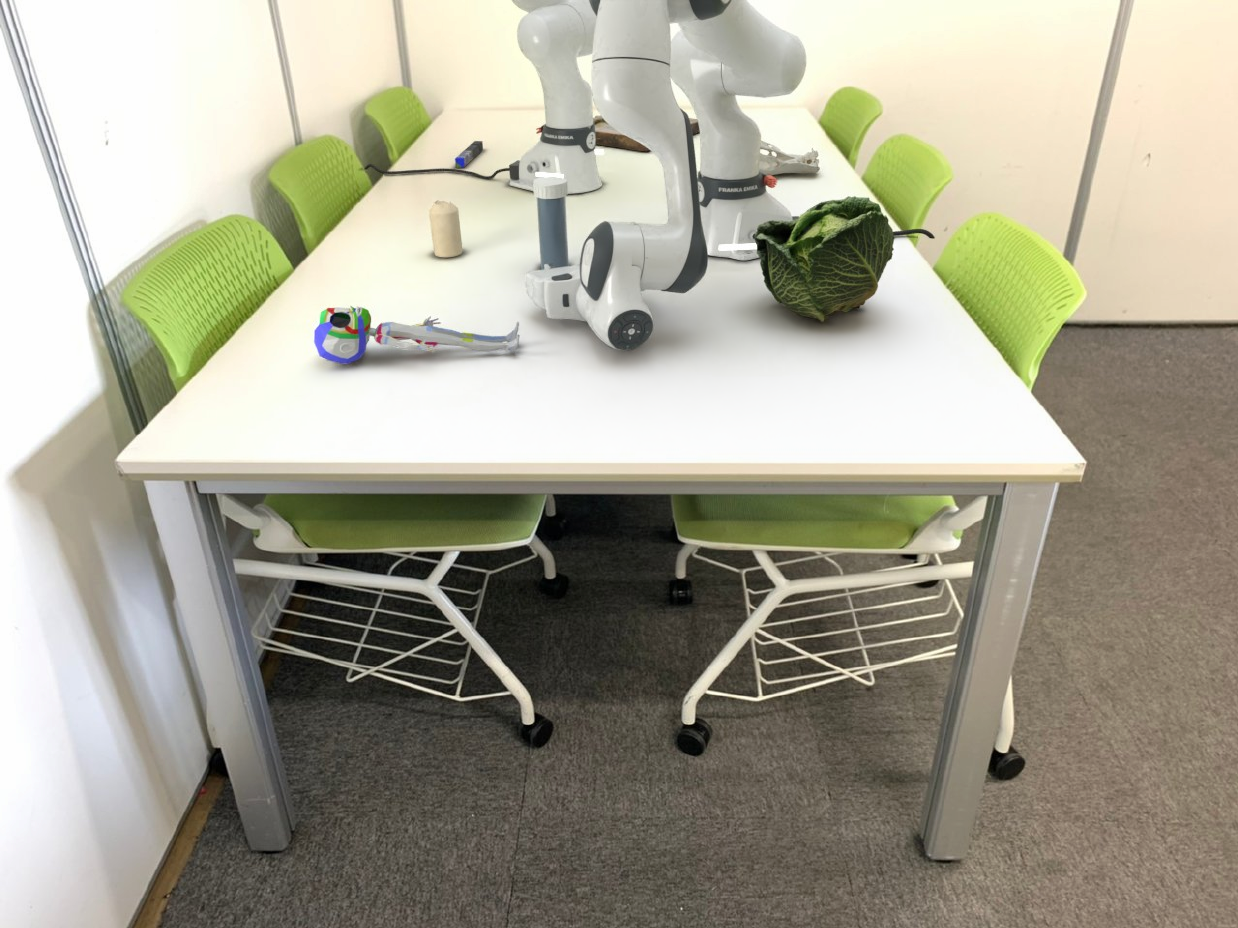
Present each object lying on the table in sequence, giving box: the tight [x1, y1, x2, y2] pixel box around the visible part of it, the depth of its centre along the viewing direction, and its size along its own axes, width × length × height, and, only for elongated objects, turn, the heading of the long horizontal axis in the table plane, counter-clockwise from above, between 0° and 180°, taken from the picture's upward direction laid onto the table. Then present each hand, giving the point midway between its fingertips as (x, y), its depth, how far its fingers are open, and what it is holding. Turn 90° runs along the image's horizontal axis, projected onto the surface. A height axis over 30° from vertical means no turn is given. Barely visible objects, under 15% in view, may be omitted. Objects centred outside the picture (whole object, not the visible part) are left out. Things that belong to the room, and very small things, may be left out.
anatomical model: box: [759, 140, 821, 176], centre depth 220 cm, size 15×9×25 cm
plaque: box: [593, 115, 700, 152], centre depth 257 cm, size 30×7×30 cm
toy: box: [312, 305, 520, 365], centre depth 135 cm, size 10×8×30 cm
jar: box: [536, 196, 570, 270], centre depth 164 cm, size 5×5×16 cm
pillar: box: [454, 140, 484, 169], centre depth 238 cm, size 2×2×20 cm
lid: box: [532, 177, 568, 199], centre depth 160 cm, size 6×6×2 cm
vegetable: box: [754, 195, 896, 323], centre depth 144 cm, size 20×19×20 cm
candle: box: [428, 200, 464, 258], centre depth 172 cm, size 6×6×10 cm
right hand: (575, 264), depth 154 cm, fingers open, 8 cm apart
